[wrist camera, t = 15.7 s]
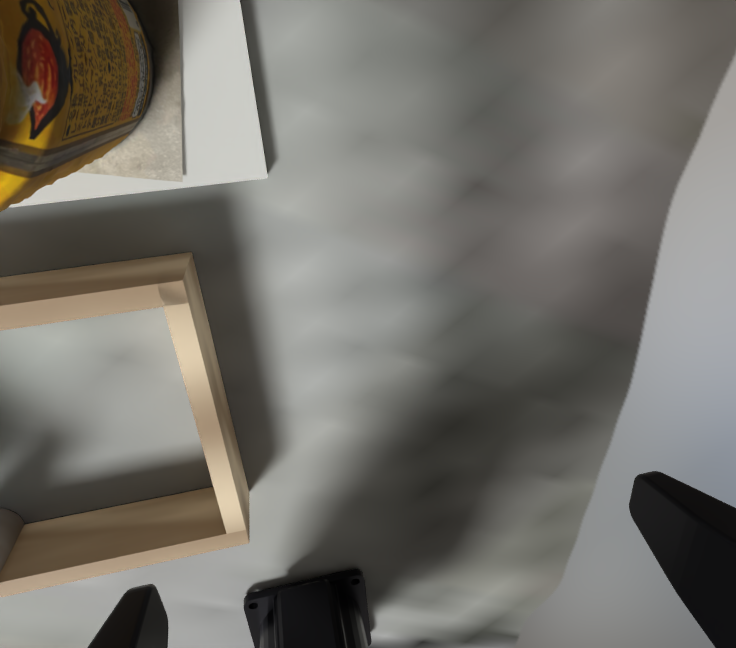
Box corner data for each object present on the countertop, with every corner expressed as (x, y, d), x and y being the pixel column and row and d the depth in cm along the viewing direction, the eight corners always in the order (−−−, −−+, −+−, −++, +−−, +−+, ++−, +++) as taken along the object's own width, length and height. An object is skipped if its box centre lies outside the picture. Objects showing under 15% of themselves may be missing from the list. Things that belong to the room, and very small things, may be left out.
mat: (267, 175, 19) (267, 178, 18) (-70, 213, 17) (-80, 217, 16) (200, -248, 14) (198, -262, 13) (-285, -254, 12) (-310, -269, 11)
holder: (249, 492, 25) (249, 607, 19) (-17, 547, 23) (-97, 689, 18) (191, 251, 19) (170, 319, 14) (-164, 298, 17) (-343, 396, 12)
